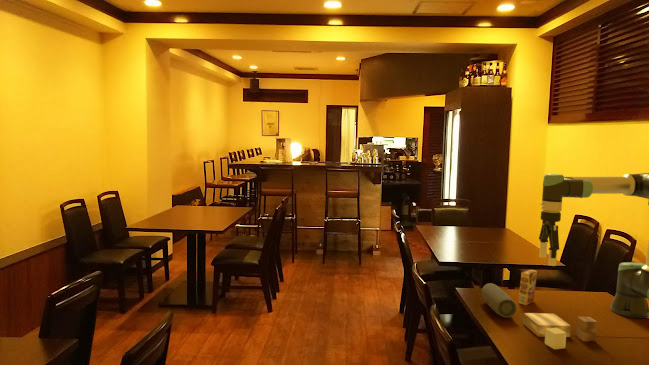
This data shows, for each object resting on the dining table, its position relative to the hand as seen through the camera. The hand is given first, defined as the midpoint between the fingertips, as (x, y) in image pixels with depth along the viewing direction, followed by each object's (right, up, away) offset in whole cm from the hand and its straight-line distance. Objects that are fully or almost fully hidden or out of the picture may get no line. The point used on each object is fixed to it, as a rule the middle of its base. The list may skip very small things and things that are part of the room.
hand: (547, 261), depth 201 cm
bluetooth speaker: (-15, -25, +16) cm, 34 cm away
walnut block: (+10, -29, -12) cm, 32 cm away
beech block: (-3, -28, -4) cm, 28 cm away
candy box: (+3, -25, +29) cm, 38 cm away
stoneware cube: (-6, -29, -19) cm, 35 cm away
